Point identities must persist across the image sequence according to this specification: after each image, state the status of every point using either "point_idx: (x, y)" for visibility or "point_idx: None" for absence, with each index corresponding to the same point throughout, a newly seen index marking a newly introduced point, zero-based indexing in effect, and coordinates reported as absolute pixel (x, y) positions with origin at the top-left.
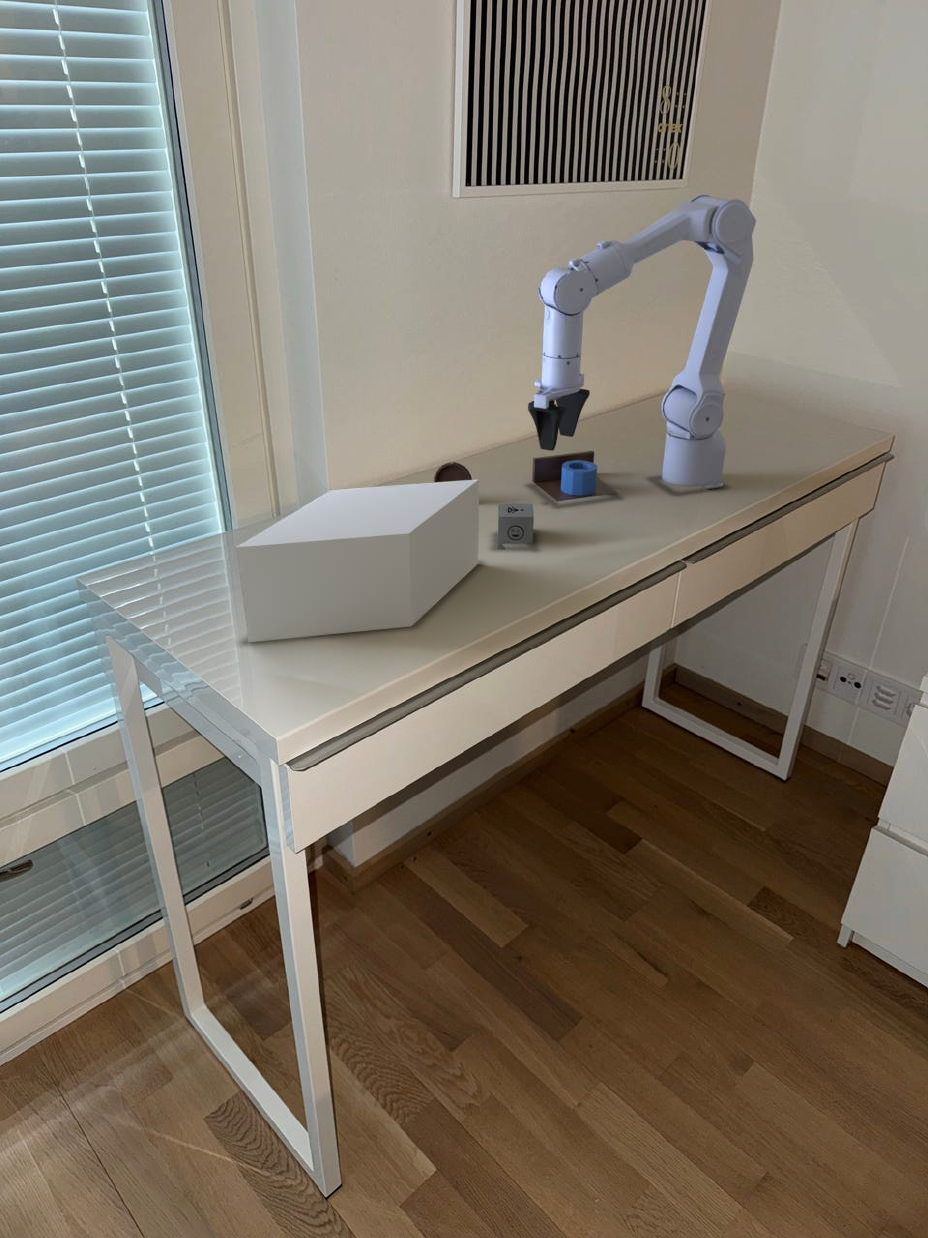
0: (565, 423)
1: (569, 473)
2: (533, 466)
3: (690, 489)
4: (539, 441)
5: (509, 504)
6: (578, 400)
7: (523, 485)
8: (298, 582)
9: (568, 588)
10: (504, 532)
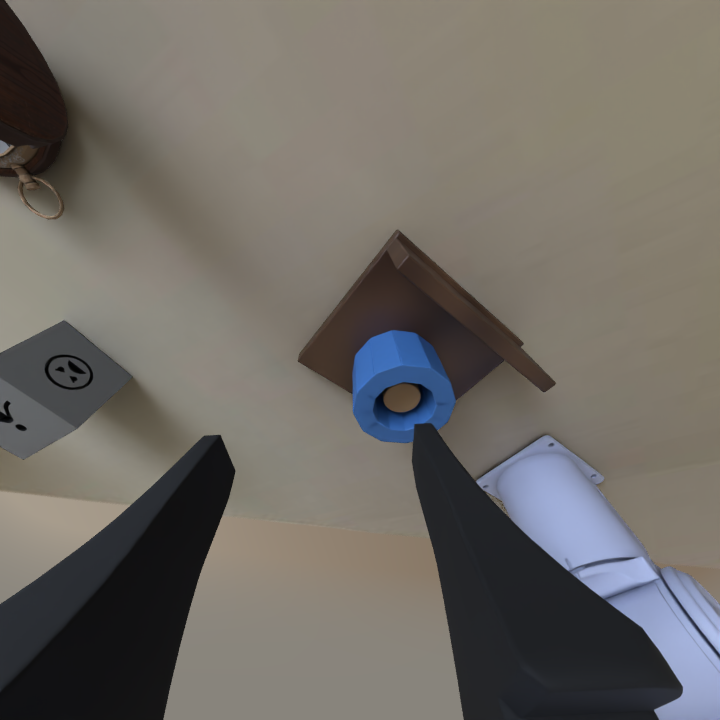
0: (428, 484)
1: (354, 396)
2: (398, 253)
3: None
4: (181, 459)
5: (10, 389)
6: (461, 680)
7: (391, 203)
8: None
9: (45, 488)
10: None
